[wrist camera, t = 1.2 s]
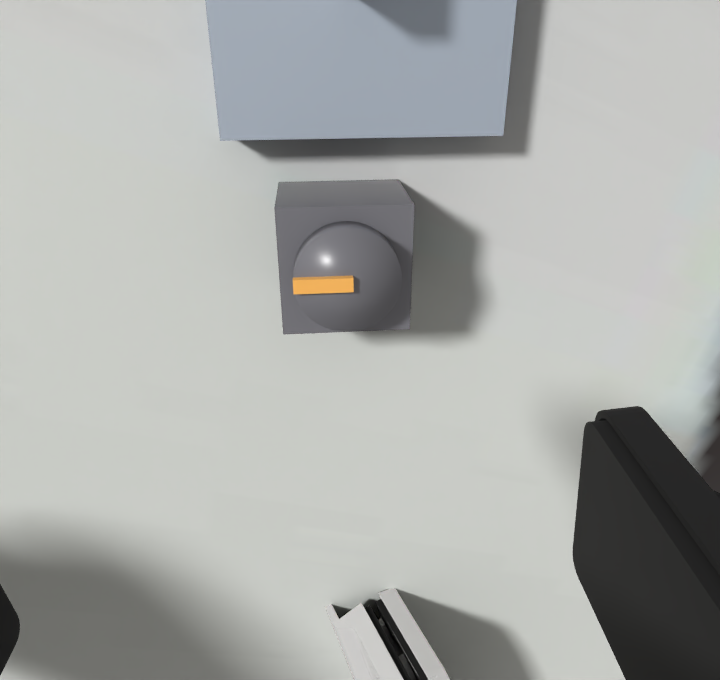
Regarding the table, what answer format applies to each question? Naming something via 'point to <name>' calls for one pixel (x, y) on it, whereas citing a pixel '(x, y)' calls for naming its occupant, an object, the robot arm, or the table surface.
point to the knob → (344, 255)
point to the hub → (360, 67)
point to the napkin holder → (385, 642)
